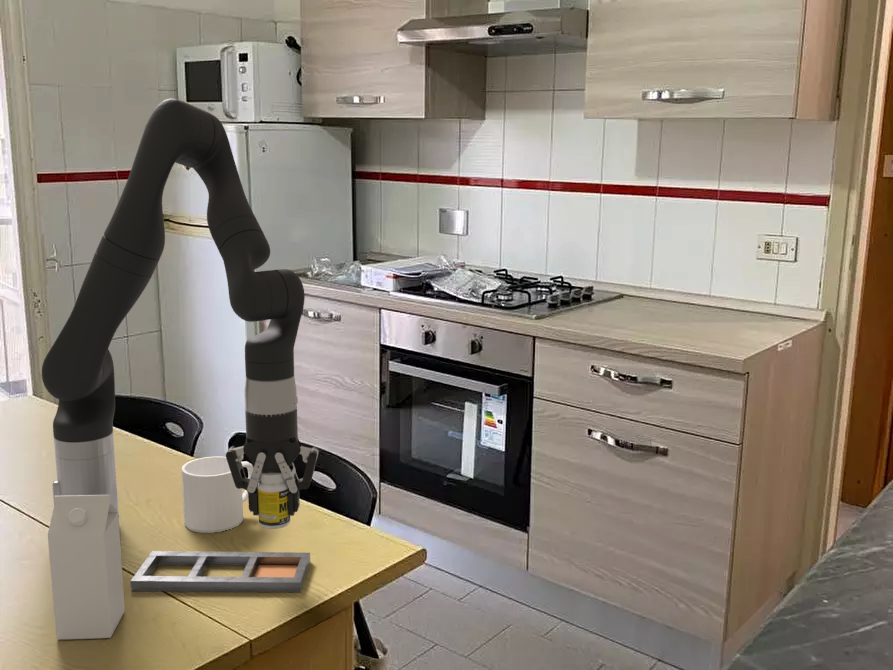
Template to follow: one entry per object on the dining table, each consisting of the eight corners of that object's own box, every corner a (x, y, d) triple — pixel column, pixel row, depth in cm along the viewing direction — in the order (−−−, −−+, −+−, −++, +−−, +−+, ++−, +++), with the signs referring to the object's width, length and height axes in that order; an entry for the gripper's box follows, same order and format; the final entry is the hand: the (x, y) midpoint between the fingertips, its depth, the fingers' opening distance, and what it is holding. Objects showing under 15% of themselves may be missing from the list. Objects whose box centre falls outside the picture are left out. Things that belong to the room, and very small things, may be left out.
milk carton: (73, 613, 127) (63, 486, 123) (125, 612, 127) (116, 485, 123) (56, 641, 120) (44, 506, 116) (111, 639, 120) (101, 505, 116)
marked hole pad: (251, 585, 135) (251, 584, 135) (259, 567, 141) (259, 565, 141) (292, 586, 135) (292, 584, 135) (298, 567, 141) (298, 565, 141)
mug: (194, 538, 151) (191, 480, 149) (177, 517, 160) (174, 462, 158) (265, 522, 158) (264, 467, 156) (245, 503, 166) (243, 450, 164)
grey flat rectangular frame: (131, 590, 133) (130, 580, 133) (152, 560, 143) (152, 551, 143) (300, 592, 133) (300, 582, 133) (310, 562, 143) (310, 552, 143)
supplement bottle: (283, 531, 134) (282, 477, 132) (253, 528, 135) (251, 475, 133) (295, 518, 139) (293, 466, 137) (266, 515, 140) (264, 464, 138)
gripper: (216, 412, 129) (221, 523, 133) (316, 413, 129) (318, 524, 133) (228, 398, 137) (232, 503, 140) (322, 398, 137) (325, 504, 140)
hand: (274, 513), depth 136 cm, fingers closed on supplement bottle, 4 cm apart
